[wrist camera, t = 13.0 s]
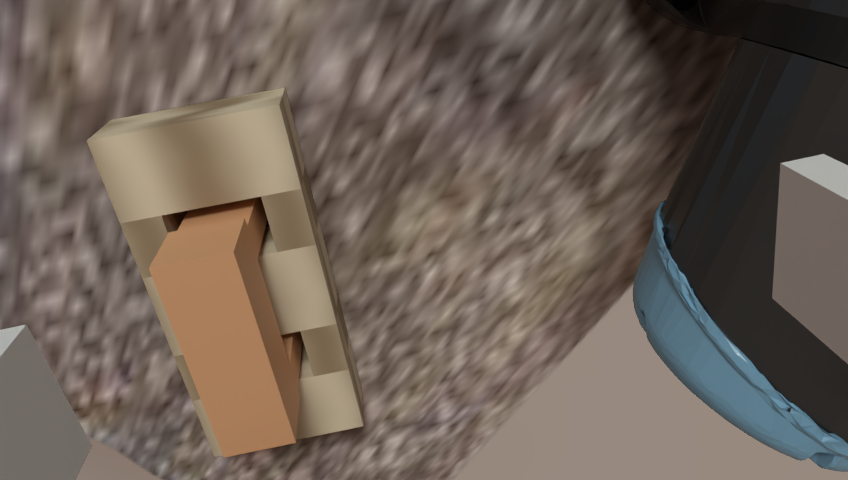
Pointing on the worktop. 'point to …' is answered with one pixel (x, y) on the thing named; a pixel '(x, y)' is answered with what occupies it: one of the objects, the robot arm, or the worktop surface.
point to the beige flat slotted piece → (282, 241)
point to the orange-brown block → (230, 326)
